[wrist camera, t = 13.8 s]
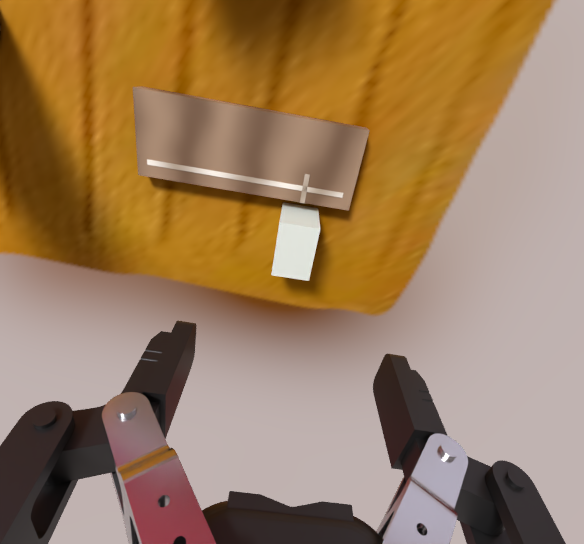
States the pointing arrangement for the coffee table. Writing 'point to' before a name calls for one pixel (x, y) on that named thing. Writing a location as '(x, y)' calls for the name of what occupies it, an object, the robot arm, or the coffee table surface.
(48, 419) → the robot arm
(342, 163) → the bronze metal plate
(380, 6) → the coffee table surface
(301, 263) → the block
